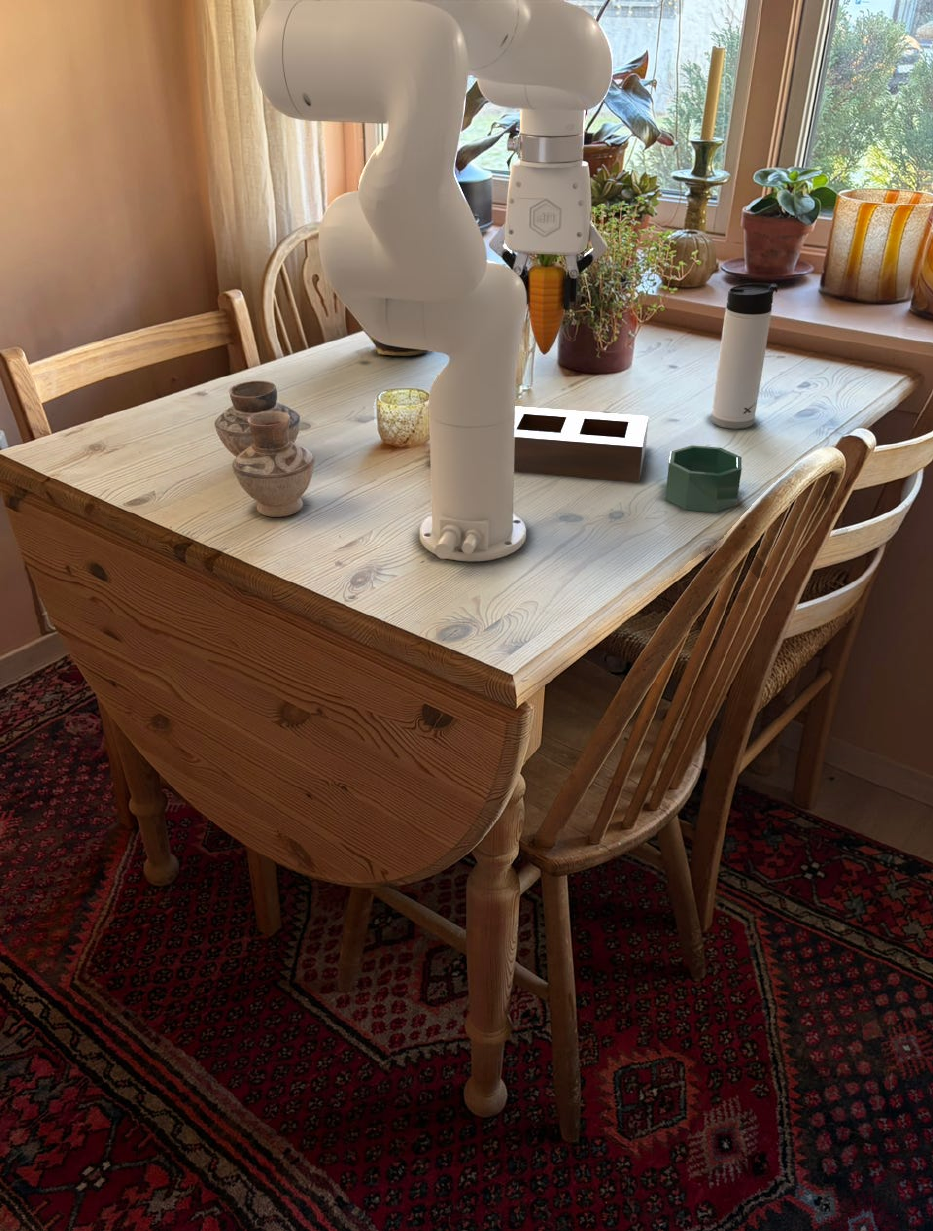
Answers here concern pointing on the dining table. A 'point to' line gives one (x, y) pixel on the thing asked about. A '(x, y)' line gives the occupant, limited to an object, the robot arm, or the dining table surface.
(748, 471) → the dining table surface
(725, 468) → the holder
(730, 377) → the travel mug
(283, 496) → the pottery
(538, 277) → the carrot
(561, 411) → the rack
